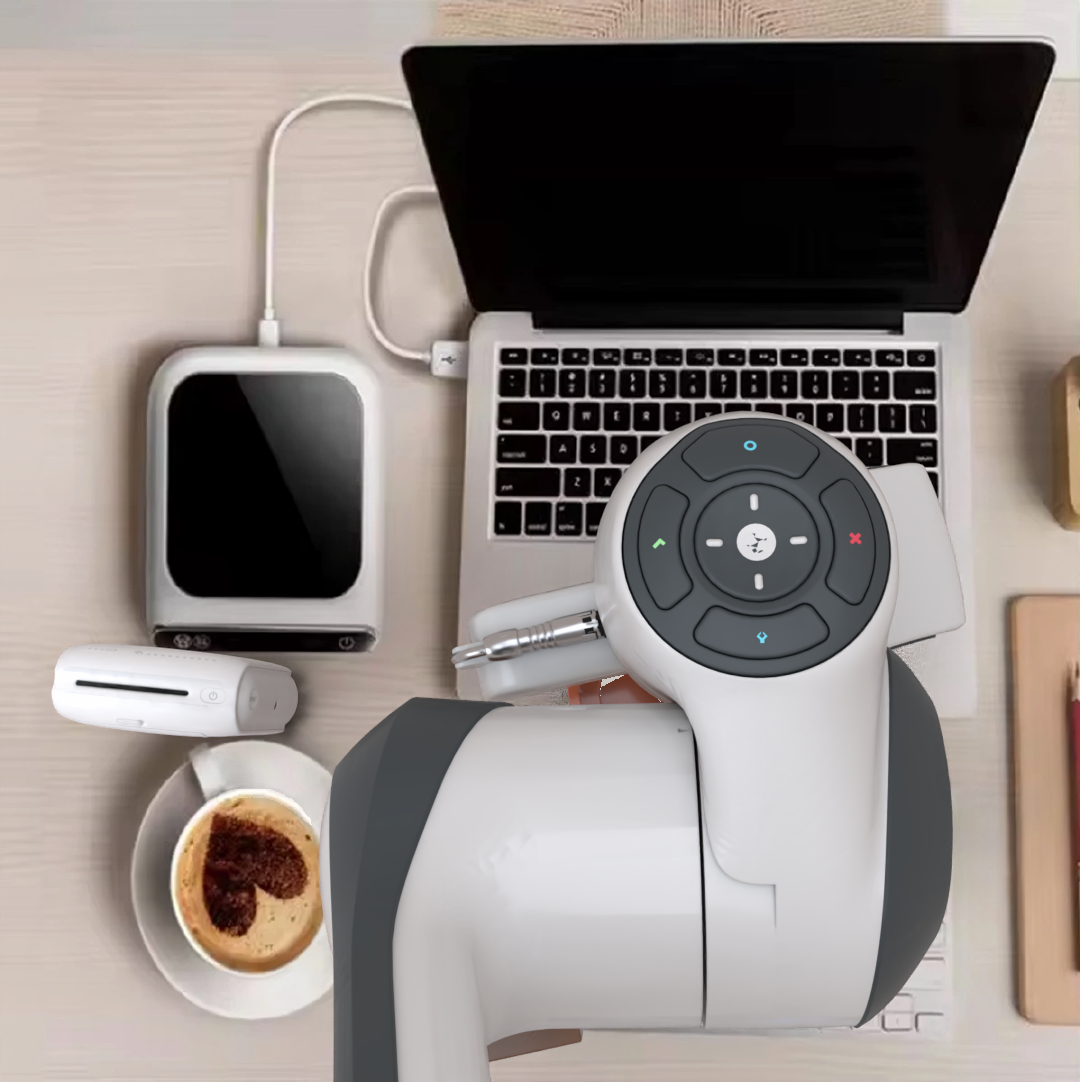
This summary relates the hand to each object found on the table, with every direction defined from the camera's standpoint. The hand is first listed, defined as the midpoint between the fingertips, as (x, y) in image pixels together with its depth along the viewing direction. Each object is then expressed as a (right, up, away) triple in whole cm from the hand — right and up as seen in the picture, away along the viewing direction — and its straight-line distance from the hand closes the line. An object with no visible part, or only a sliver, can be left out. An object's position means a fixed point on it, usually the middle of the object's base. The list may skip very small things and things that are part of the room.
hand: (700, 620), depth 65 cm
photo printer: (-26, -5, +15) cm, 30 cm away
